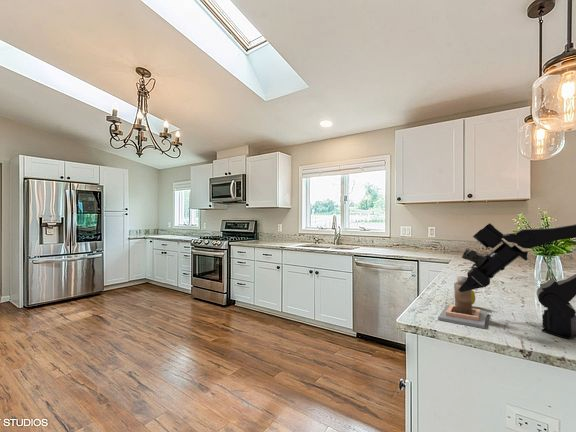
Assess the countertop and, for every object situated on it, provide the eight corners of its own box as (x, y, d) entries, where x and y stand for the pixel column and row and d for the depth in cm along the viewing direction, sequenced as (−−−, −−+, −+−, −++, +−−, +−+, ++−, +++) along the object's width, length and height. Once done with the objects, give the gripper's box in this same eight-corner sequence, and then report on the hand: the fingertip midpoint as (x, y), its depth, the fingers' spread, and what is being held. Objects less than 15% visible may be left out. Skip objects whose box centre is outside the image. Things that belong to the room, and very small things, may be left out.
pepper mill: (475, 315, 96) (473, 277, 96) (465, 317, 94) (463, 279, 94) (462, 311, 101) (460, 275, 101) (452, 313, 99) (450, 276, 99)
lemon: (475, 310, 104) (475, 288, 104) (458, 308, 107) (458, 287, 107) (475, 306, 109) (474, 285, 109) (458, 304, 112) (458, 284, 112)
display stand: (487, 314, 100) (487, 307, 100) (484, 328, 87) (484, 321, 87) (446, 307, 108) (446, 301, 108) (438, 320, 95) (438, 313, 95)
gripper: (480, 239, 102) (447, 266, 109) (475, 243, 87) (437, 274, 94) (508, 261, 97) (471, 289, 104) (508, 270, 82) (465, 301, 89)
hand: (461, 288), depth 98 cm, fingers open, 9 cm apart
